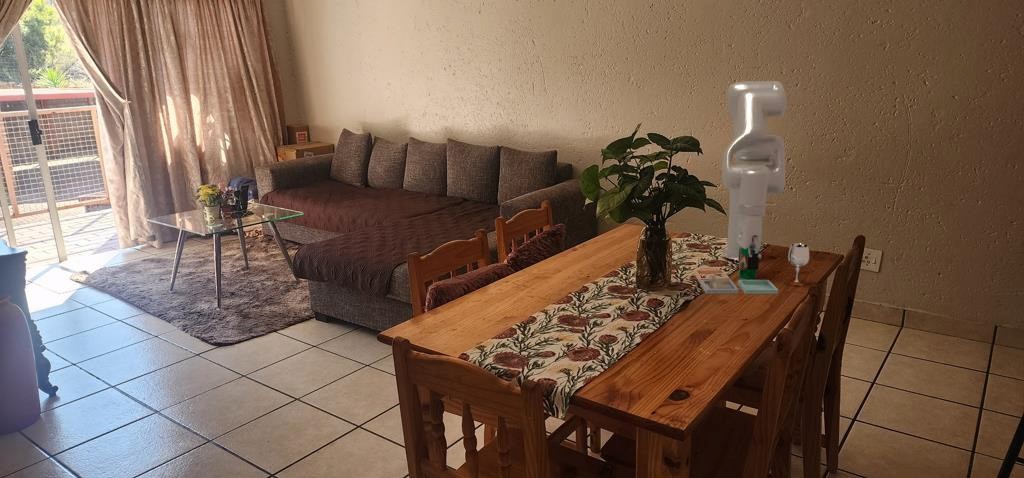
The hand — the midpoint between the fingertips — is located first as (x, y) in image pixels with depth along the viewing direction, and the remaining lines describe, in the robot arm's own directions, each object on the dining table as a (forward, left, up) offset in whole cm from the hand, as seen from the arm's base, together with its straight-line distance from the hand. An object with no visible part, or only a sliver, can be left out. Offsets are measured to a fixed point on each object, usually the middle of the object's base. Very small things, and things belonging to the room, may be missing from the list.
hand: (748, 265), depth 202 cm
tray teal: (+10, 0, -5) cm, 11 cm away
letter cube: (+10, -11, -4) cm, 16 cm away
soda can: (-1, 0, -5) cm, 5 cm away
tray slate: (+10, -11, -5) cm, 16 cm away
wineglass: (+4, +13, -5) cm, 15 cm away
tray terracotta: (0, -11, -5) cm, 12 cm away
